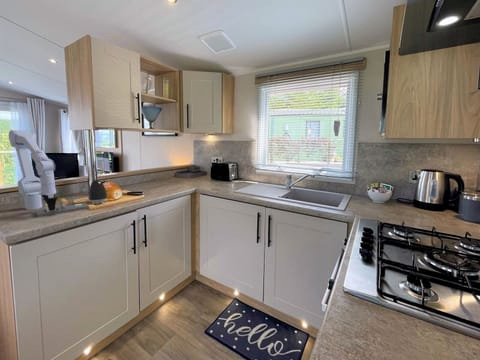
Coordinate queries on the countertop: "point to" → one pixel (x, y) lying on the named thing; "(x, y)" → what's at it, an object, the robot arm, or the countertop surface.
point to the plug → (48, 208)
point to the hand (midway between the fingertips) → (51, 208)
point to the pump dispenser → (97, 192)
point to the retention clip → (63, 201)
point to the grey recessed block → (62, 209)
